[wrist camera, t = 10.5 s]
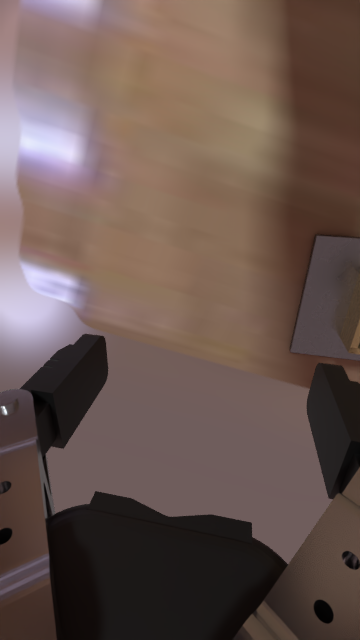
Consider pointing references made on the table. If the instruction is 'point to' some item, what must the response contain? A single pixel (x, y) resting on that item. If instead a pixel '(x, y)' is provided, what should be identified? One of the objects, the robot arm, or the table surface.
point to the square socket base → (330, 300)
